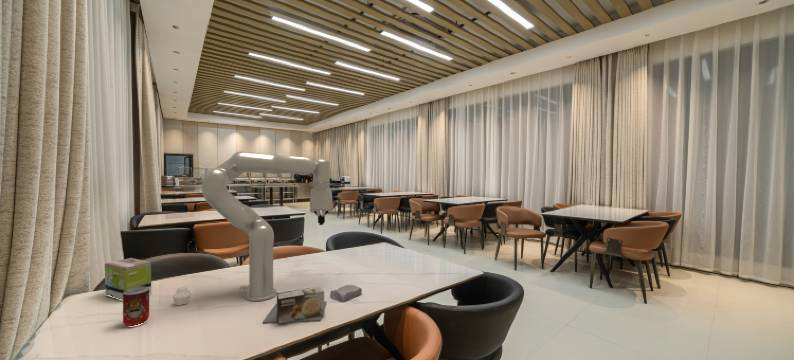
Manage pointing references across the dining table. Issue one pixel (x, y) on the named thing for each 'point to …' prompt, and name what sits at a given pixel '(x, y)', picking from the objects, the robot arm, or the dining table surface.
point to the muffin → (181, 296)
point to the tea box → (126, 276)
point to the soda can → (135, 305)
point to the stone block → (345, 293)
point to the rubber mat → (273, 319)
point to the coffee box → (300, 304)
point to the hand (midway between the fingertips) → (321, 224)
